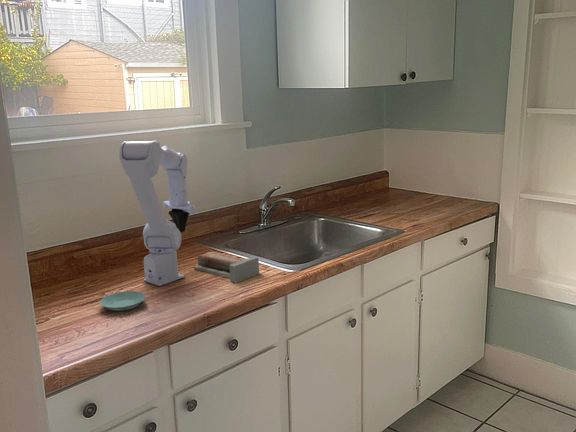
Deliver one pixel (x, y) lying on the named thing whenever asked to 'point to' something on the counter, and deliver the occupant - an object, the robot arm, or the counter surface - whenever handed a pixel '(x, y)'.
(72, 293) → the counter surface
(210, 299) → the counter surface
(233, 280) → the board
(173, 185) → the robot arm
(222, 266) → the packaged product
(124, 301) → the saucer
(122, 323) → the counter surface
